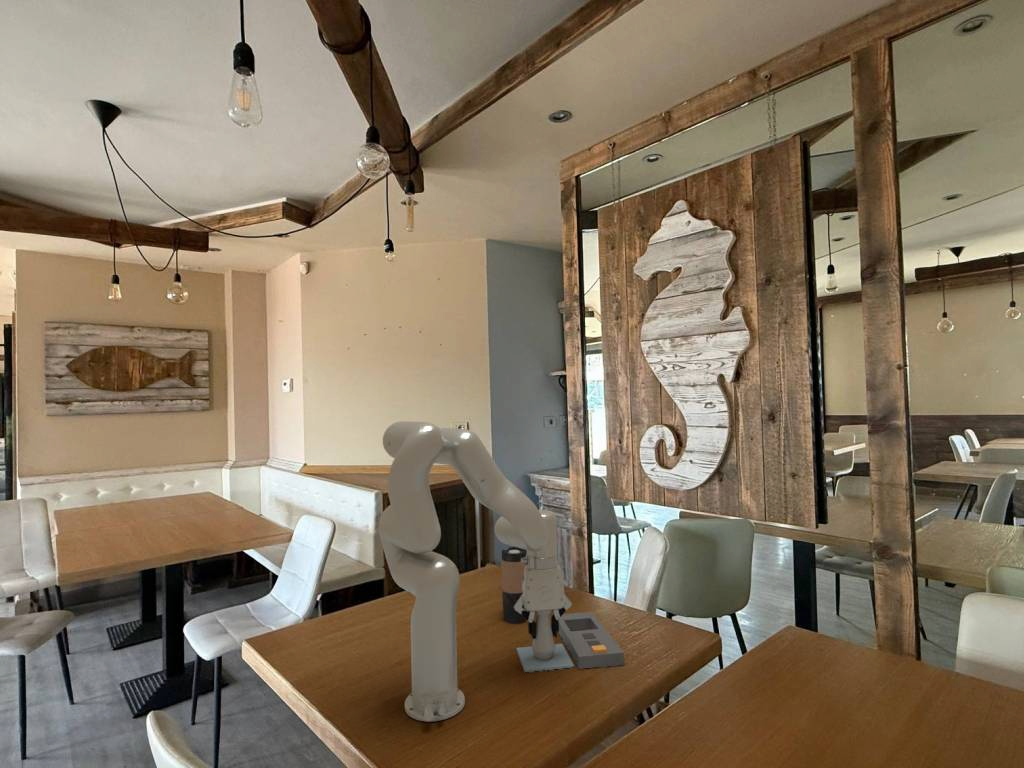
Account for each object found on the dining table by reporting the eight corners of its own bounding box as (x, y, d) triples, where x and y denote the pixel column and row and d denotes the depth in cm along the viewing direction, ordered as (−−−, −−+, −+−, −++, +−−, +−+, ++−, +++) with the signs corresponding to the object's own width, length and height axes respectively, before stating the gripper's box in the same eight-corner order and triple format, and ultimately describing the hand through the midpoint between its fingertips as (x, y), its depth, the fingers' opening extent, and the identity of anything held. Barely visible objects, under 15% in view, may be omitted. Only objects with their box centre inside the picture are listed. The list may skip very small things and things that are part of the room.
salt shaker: (553, 662, 134) (553, 608, 134) (530, 661, 135) (529, 607, 135) (556, 651, 139) (555, 599, 140) (533, 650, 140) (533, 598, 141)
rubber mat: (574, 668, 132) (574, 665, 132) (524, 672, 130) (524, 670, 130) (562, 646, 144) (562, 643, 144) (516, 650, 142) (516, 647, 142)
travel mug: (528, 624, 158) (527, 553, 159) (502, 624, 159) (500, 553, 159) (528, 613, 166) (527, 546, 167) (503, 613, 166) (501, 546, 167)
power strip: (623, 665, 133) (623, 649, 133) (579, 669, 131) (579, 653, 131) (592, 622, 159) (591, 608, 159) (554, 625, 157) (554, 612, 157)
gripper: (510, 568, 133) (512, 645, 132) (579, 563, 135) (581, 639, 135) (506, 559, 140) (507, 632, 140) (571, 555, 143) (573, 626, 142)
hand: (543, 634), depth 137 cm, fingers open, 4 cm apart
